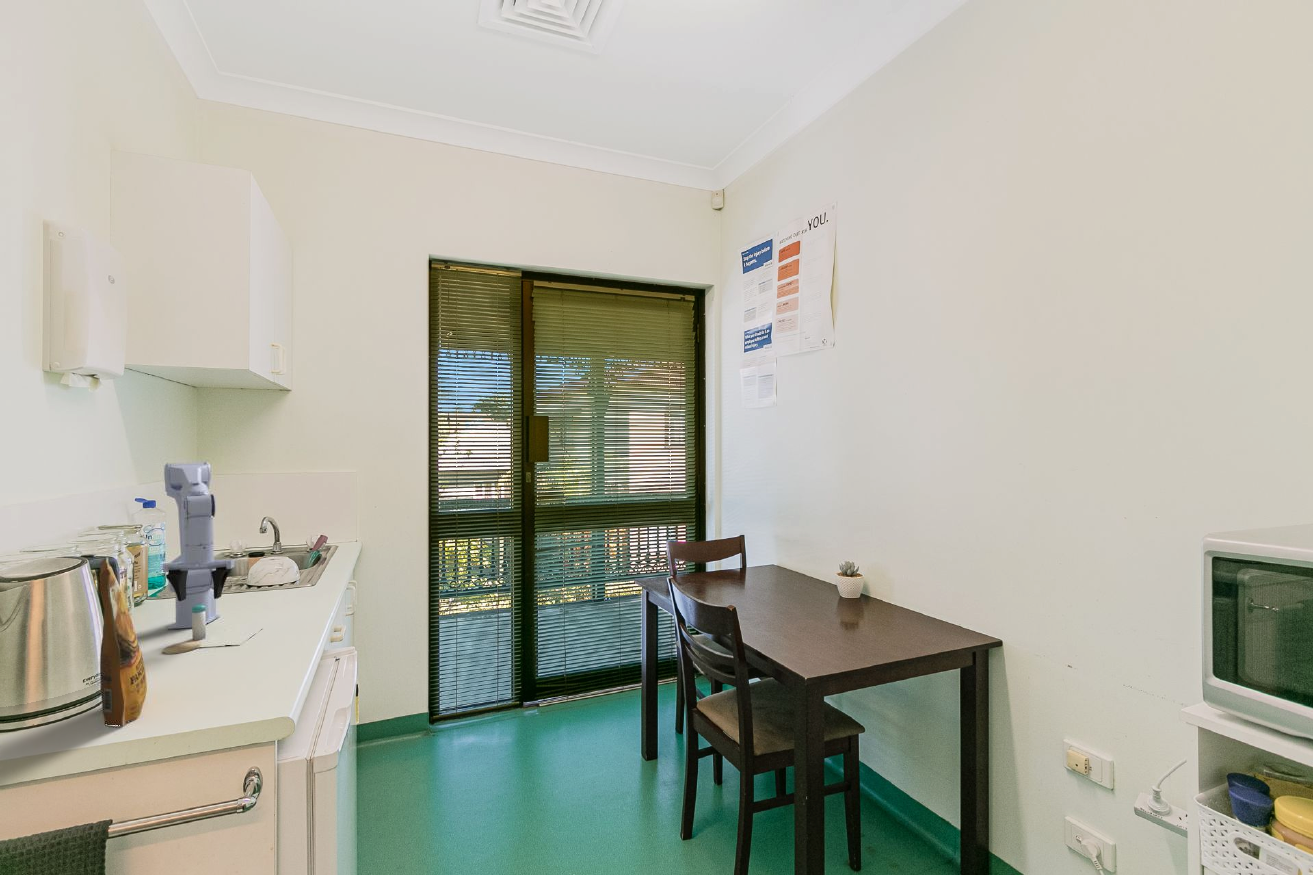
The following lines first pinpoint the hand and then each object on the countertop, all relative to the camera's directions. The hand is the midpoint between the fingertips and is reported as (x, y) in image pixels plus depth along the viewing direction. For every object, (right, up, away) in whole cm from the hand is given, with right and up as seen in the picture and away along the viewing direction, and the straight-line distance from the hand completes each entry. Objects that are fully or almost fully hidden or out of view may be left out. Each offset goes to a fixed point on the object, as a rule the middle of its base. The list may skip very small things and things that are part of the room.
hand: (199, 599), depth 147 cm
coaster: (0, -10, -6) cm, 12 cm away
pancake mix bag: (+15, -11, -38) cm, 42 cm away
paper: (+7, -10, +1) cm, 12 cm away
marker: (-1, -10, +1) cm, 10 cm away
